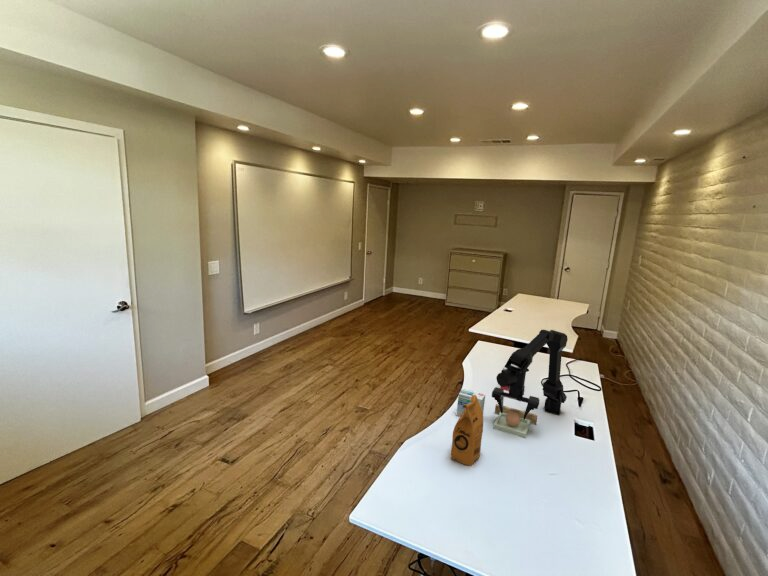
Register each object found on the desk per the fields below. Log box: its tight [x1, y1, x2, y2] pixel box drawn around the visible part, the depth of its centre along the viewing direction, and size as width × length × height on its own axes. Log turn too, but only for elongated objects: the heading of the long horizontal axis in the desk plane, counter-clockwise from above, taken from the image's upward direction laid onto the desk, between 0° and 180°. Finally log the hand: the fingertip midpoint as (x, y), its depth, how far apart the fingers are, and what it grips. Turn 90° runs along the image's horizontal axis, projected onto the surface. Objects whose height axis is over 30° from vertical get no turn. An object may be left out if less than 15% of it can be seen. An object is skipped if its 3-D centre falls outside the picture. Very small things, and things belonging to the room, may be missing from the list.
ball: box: [506, 411, 520, 426], centre depth 164 cm, size 6×6×6 cm
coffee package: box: [450, 395, 484, 467], centre depth 140 cm, size 10×12×22 cm
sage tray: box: [492, 412, 531, 439], centre depth 165 cm, size 13×13×2 cm
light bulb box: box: [456, 388, 486, 418], centre depth 170 cm, size 11×7×11 cm, turn 62°
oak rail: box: [494, 403, 539, 426], centre depth 171 cm, size 18×2×4 cm, turn 61°
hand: (512, 416), depth 164 cm, fingers open, 9 cm apart
